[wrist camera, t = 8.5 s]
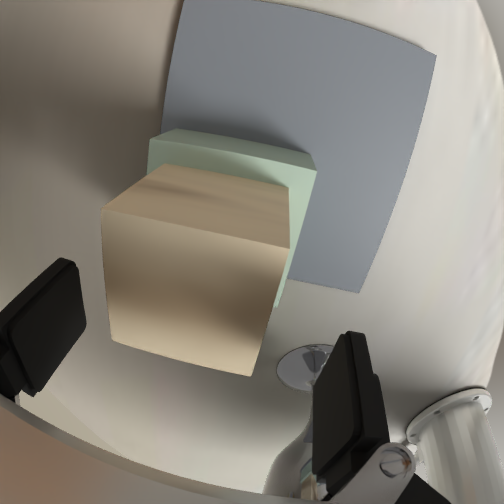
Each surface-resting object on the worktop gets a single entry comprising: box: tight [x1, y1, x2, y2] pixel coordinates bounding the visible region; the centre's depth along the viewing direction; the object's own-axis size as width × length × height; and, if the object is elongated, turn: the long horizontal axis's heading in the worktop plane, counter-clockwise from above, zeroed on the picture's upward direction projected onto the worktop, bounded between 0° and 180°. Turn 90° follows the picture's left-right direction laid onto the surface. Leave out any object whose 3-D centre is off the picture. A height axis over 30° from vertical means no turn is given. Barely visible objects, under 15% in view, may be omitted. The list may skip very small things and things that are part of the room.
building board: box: [160, 0, 437, 293], centre depth 18 cm, size 17×15×1 cm
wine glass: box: [262, 345, 334, 501], centre depth 21 cm, size 8×8×15 cm
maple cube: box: [101, 163, 290, 377], centre depth 13 cm, size 6×6×6 cm
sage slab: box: [146, 128, 317, 307], centre depth 17 cm, size 8×8×4 cm
